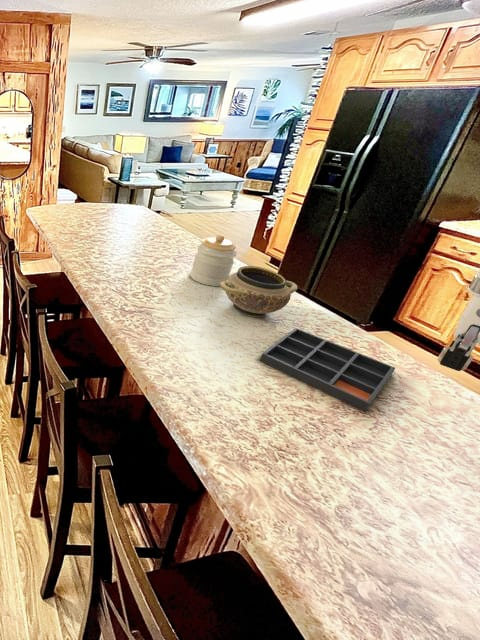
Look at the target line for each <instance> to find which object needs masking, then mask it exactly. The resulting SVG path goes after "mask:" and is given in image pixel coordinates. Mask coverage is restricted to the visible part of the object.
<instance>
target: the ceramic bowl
mask: <svg viewBox="0 0 480 640" xmlns="http://www.w3.org/2000/svg"><path fill="white" fill-rule="evenodd" d="M288 286H289V287H288ZM219 288H221V289H222V291H224V292H225V294H226V297H227V298H228V299H229V301H230V302H231V303H232V307H233V309H234V311H236V312H238V313H239V314H242V315H245V316H248V317H253V318H264V317H265V316H266V315H267V314H271V313H275V312H277V311H281V310H282V309H283V308H285V307H286V306H287V305H288V304H289V302H290V300H291V298H292V295H291V294H293V293H295V292H296V291H298V285H297V284H296V283H295V282H293V281H289V280H287V279H286V278H285V277H284V276H283V275H282V274H280V273H278V272H276V271H275V270H271V269H268V268H266V267H261V266H254V265H243V266H241V267H239V268H238V270H237V271H236V272H234V273H230V275H229V277H228V278H227V279H226V281H222V282H221V283H220V286H219Z"/></svg>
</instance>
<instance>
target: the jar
mask: <svg viewBox="0 0 480 640" xmlns="http://www.w3.org/2000/svg"><path fill="white" fill-rule="evenodd" d="M200 243H201V244H199V245H197V247H196V249H197V252H196V253H195V255H194V259H193V262H192V266H191V269H190V277H191V279H193V280H194V281H196V282H197V283H200V284H203V285H206V286H213V287H220V283H221V282H222V281H226V279H227V278H228V277H229V276H230V275H231V271H232V269H233V265H234V263H235V261H234V258H235V257H236V256H237V252H236V248H237V246H236V245H235V244H234V243H233V242H232V241H231V240H229V239H226V238H225V236H224V235H223V234H218V235H216V237H215V236H210V237H209V236H208V237H207V238H204V239H202V240H201V242H200Z"/></svg>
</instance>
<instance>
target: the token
mask: <svg viewBox="0 0 480 640" xmlns="http://www.w3.org/2000/svg"><path fill="white" fill-rule="evenodd" d="M448 348H449V349H451V347H449V346H445V347H443V348H442V350H441V352H440V353H439V355H438V356H437V358H436V360H437V361H438V362H439V363H440V361H441V360H442V358H443V357H444V355H445V353H446V352H447V350H448ZM473 359H474V356H473V355H472V354H471V353H470V357H469V359H468V360H467V362H466V364H465V365H464V367H463V368H462V370H461V371H465V370H467V369H468V366H469V365H470V364H471V363H472V361H473Z"/></svg>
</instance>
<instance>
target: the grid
mask: <svg viewBox="0 0 480 640" xmlns="http://www.w3.org/2000/svg"><path fill="white" fill-rule="evenodd" d="M259 362H261V363H263V364H265V365H267V366H269V367H271V368H273V369H276V370H278V371H279V372H281V373H284V374H286V375H288V376H290V377H292V378H294V379H296V380H298V381H300V382H302V383H304V384H306V385H309V386H310V387H313V388H314V389H317V390H319V391H321V392H323V393H325V394H327V395H329V396H331V397H334V398H335V399H337V400H339V401H342V402H344V403H346V404H347V405H350V406H352V407H353V408H356V409H358V410H360V411H362V412H364V413H366V412H367V411H368V409H369V408H370V406H371V405H372V404H373V402H374V401H375V399H376V398H377V397H378V395H379V393H380V392H381V391H382V389H383V388H384V386H385V385H386V383H387V382H388V381H389V379H390V378H391V376H392V375H393V373H394V371H395V370H396V367H395V366H393V365H390V364H387V363H385V362H382V361H380V360H377V359H375V358H373V357H370V356H368V355H365V354H362V353H360V352H357V351H355V350H353V349H350V348H348V347H345V346H343V345H340V344H337V343H335V342H332V341H330V340H328V339H325V338H323V337H320V336H318V335H315V334H314V333H313V334H312V333H311V332H307V331H305V330H303V329H300V328H298V327H294V328H293V329H292V330H290V331H289V332H288V333H287V334H286V335H284V336H283V337H282V338H280V339H279V340H278V341H277V342H275V343H274V344H273V345H271V346H270V347H269V348H267V349H266V350H265V351H264V352H263V353H261V355H260V358H259Z"/></svg>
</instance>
